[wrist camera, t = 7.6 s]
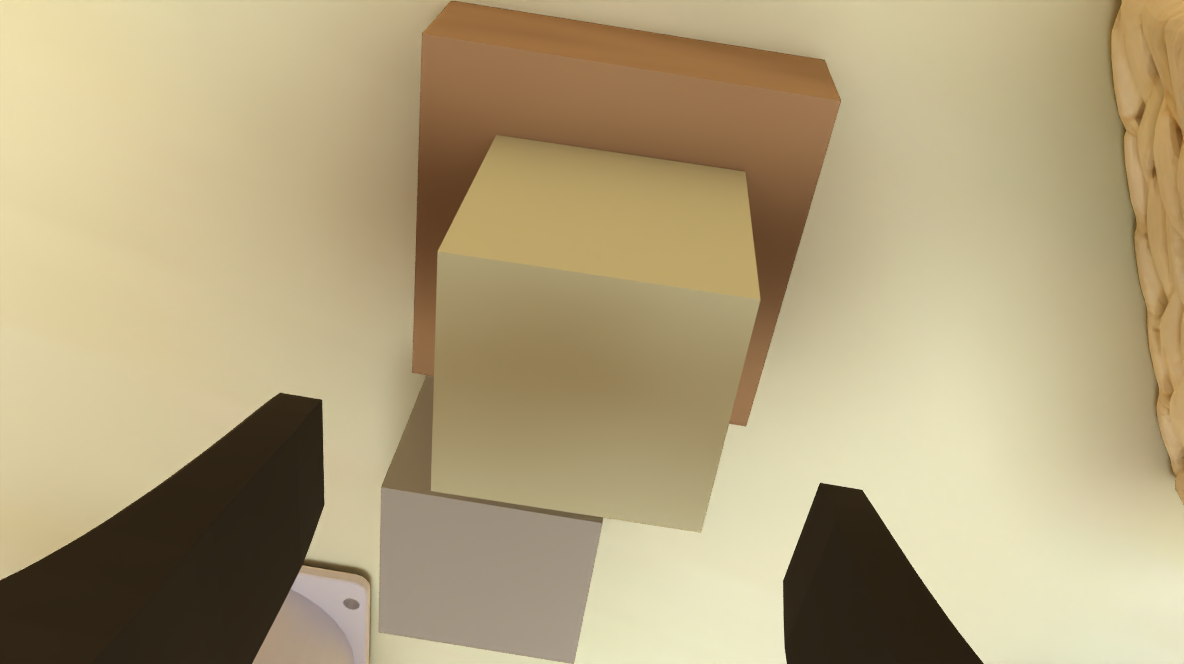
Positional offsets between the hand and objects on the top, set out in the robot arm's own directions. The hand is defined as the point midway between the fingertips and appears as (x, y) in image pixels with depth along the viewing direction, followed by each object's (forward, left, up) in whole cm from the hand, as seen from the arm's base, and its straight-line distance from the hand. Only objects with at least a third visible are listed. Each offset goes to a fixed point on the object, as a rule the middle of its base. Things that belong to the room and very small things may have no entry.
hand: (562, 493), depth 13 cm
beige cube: (0, 0, -7) cm, 7 cm away
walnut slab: (0, 0, -11) cm, 11 cm away
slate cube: (-8, +1, -10) cm, 13 cm away
